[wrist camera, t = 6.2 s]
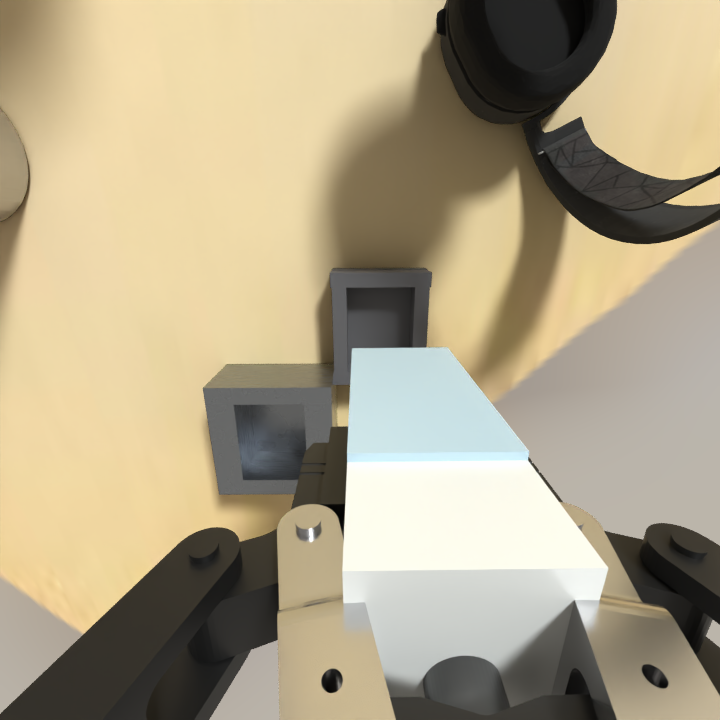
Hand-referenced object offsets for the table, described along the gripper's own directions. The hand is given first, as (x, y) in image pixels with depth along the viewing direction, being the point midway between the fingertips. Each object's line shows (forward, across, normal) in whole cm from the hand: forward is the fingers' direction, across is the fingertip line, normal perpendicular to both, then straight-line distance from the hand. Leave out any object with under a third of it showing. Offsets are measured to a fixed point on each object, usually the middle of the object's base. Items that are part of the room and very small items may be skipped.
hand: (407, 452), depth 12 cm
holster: (+19, 0, 0) cm, 19 cm away
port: (+19, +8, +8) cm, 22 cm away
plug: (+3, 0, 0) cm, 3 cm away
